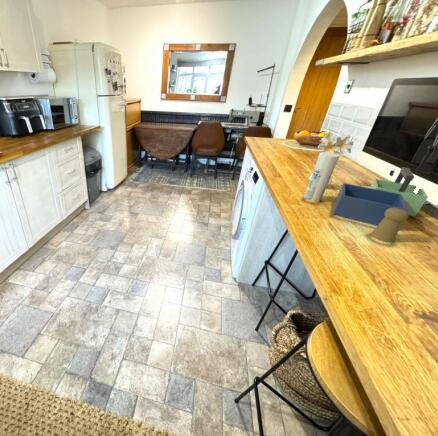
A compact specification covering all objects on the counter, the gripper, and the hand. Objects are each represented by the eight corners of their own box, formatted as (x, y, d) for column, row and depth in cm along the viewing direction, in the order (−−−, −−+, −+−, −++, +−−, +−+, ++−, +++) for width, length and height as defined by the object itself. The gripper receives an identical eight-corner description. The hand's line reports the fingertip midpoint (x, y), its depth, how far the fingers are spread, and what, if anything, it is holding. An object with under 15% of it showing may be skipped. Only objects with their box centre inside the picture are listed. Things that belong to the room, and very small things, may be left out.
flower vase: (301, 189, 114) (320, 134, 101) (305, 178, 127) (324, 128, 114) (333, 196, 107) (359, 139, 94) (335, 184, 120) (358, 132, 107)
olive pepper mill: (373, 242, 77) (392, 212, 71) (366, 232, 82) (382, 203, 76) (397, 246, 75) (417, 216, 69) (388, 236, 80) (406, 207, 74)
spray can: (300, 196, 107) (317, 151, 97) (316, 197, 106) (334, 152, 96) (306, 202, 101) (324, 155, 91) (322, 204, 100) (343, 157, 90)
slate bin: (388, 214, 93) (401, 194, 88) (393, 232, 82) (407, 209, 78) (334, 202, 102) (343, 183, 97) (332, 216, 91) (342, 195, 87)
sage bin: (408, 206, 99) (430, 171, 91) (413, 218, 90) (439, 180, 83) (364, 197, 106) (382, 164, 99) (365, 207, 98) (384, 171, 90)
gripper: (511, 87, 50) (444, 182, 61) (478, 87, 67) (431, 161, 78) (458, 86, 54) (405, 175, 65) (440, 86, 71) (400, 156, 82)
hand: (419, 167), depth 71 cm, fingers open, 13 cm apart
